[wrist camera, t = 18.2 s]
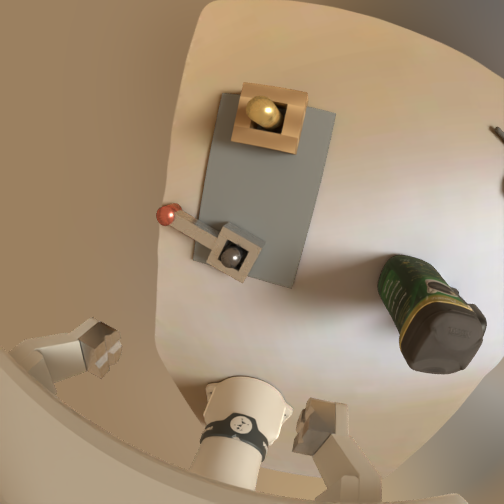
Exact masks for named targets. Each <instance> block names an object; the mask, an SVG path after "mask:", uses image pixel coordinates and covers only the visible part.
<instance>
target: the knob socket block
mask: <svg viewBox="0 0 504 504" xmlns="http://www.w3.org/2000/svg"><path fill="white" fill-rule="evenodd" d="M156 217H157V220H158V222H159V223H160V224H161V225H163V226H167V225H170V226H172V227H173V228H175V229H177V230H179V231H180V232H182V233H184V234H185V235H187V236H189V237H190V238H192V239H194V240H196V241H197V242H199V243H201V244H202V245H204V246H206V247H208V248H209V249H211V250H212V251H211V253H210V255H209V257H208V259H207V261H206V262H207V263H208V264H210V265H212V266H213V267H215V268H217V269H219V270H220V271H222V272H224V273H225V274H227V275H229V276H231V277H232V278H234V279H236V280H238V281H239V282H241V283H243V282H244V280H245V279H246V277H247V275H248V274H249V272H250V270H251V268H252V267H253V265H254V263H255V261H256V259H257V258H258V256H259V254H260V252H261V250H262V249H263V247H264V245H265V243H266V242H265V241H263V240H261V239H260V238H258V237H256V236H254V235H253V234H251V233H249V232H247V231H245V230H244V229H242V228H240V227H238V226H236V225H235V224H233V223H231V222H228V223H227V224H226V225H224V226H223V227H222V229H221V231H220V232H219V231H217V230H216V229H214V228H212V227H210V226H209V225H207V224H205V223H203V222H201V221H200V220H198V219H196V218H194V217H193V216H191V215H189V214H187V213H185V212H184V211H182V208H181V207H180V205H178V204H176V203H173V204H169V205H166V206H163V207H161V208H159V209H158V211H157V214H156ZM230 241H231V242H233V243H235V244H237V245H239V246H240V247H242V248H244V249H246V250H247V251H249V253H248V255H247V257H246V259H245V260H244V262H243V263H241V262H239V263H238V264H237V265H236V266H235V267H234V268H227V267H225V266H224V265H223V264H222V263H221V255H222V254H223V253H224V252H225V250H226V248H227V246H228V244H229V242H230Z"/></svg>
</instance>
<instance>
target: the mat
mask: <svg viewBox="0 0 504 504" xmlns="http://www.w3.org/2000/svg"><path fill="white" fill-rule="evenodd" d="M240 96H241V95H236V94H227V93H222V97H221V102H220V106H219V111H218V116H217V120H216V125H215V130H214V135H213V140H212V145H211V150H210V155H209V161H208V166H207V172H206V177H205V183H204V189H203V195H202V201H201V208H200V214H199V220H200V221H201V222H203V223H205V224H207V225H209V226H210V227H212V228H214V229H216V230H217V231H219V232H220V231H221V229H222V227H223V226H224V225H226V224H227V223H228V222H231V223H233V224H235V225H236V226H238V227H240V228H242V229H244V230H245V231H247V232H249V233H251V234H253V235H254V236H256V237H258V238H260V239H261V240H263V241H265V242H266V243H265V245H264V247H263V249H262V250H261V252H260V254H259V256H258V258H257V259H256V261H255V263H254V265H253V267H252V268H251V270H250V272H249V274H248V275H247V276H248V277H252V278H255V279H259V280H262V281H266V282H270V283H273V284H277V285H280V286H284V287H287V288H291V289H292V286H293V282H294V279H295V276H296V272H297V269H298V265H299V262H300V258H301V255H302V251H303V248H304V244H305V240H306V237H307V233H308V229H309V226H310V222H311V218H312V214H313V210H314V206H315V203H316V199H317V195H318V191H319V187H320V183H321V178H322V174H323V170H324V166H325V162H326V157H327V153H328V149H329V144H330V140H331V135H332V130H333V126H334V121H335V116H336V113H332V112H328V111H324V110H320V109H316V108H312V107H307V108H306V113H305V117H304V122H303V127H302V131H301V136H300V140H299V145H298V149H297V154H296V155H295V154H291V153H286V152H282V151H277V150H273V149H268V148H263V147H258V146H253V145H248V144H242V143H237V142H233V141H231V138H232V133H233V128H234V123H235V118H236V114H237V109H238V105H239V100H240ZM277 109H278V110H279V111H280V113H281V114H282V115H283V117H284V119H285V115H286V110H287V109H283V108H278V107H277ZM282 129H283V127H282V128H281V129H280V130H278V131H275V132H272V133H277V134H281V133H282ZM257 130H262V131H267V132H271V131H268V130H267V129H265V128H264V127H262V126H261V125H259V124H258V125H257ZM232 244H233V242H231V241H230V242H229V244H228V246H227V248H226V250H227V249H228V248H229V247H230V246H231V245H232ZM226 250H225V251H226ZM211 251H212V250H211V249H209V248H208V247H206V246H204V245H202V244H201V243H199V242H197V241H196V242H195V249H194V257H193V260H194V261H197V262H201V263H204V264H207V265H210V264H208V263H207V262H206V261H207V259H208V257H209V255H210V253H211ZM248 253H249V251H247V252H246V254H245V255H244V256H243V258H242V259H241V260H240V262H241V263H243V262H244V260H245V259H246V257H247V255H248ZM211 266H212V265H211Z"/></svg>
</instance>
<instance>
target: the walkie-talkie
mask: <svg viewBox="0 0 504 504" xmlns="http://www.w3.org/2000/svg"><path fill="white" fill-rule="evenodd" d="M495 131H496V132H497V133H498V134H499V135H500V136H501V137H502V138H503V140H504V132H503V131H502V130H501V129H500V128H499V127H496V128H495Z"/></svg>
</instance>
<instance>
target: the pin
mask: <svg viewBox="0 0 504 504" xmlns="http://www.w3.org/2000/svg"><path fill="white" fill-rule="evenodd" d="M246 112H247V115H248V117H249V118H250V119H251V120H253V121H254V122H256V123H257V124H259V125H261V126H262V127H264V128H265V129H267V130H268V131H271V132H275V131H278V130H280V129H281V128H282V127H283V124H284V117H283V115H282V114H281V113H280V111H279V110H278V109H277V107H276V106H275V104H274V103H273V102H272V100H271V99H269V98H268V97H266V96H256V97H254V98H252V99H251V100H250V101H249V102H248V104H247V106H246Z"/></svg>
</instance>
